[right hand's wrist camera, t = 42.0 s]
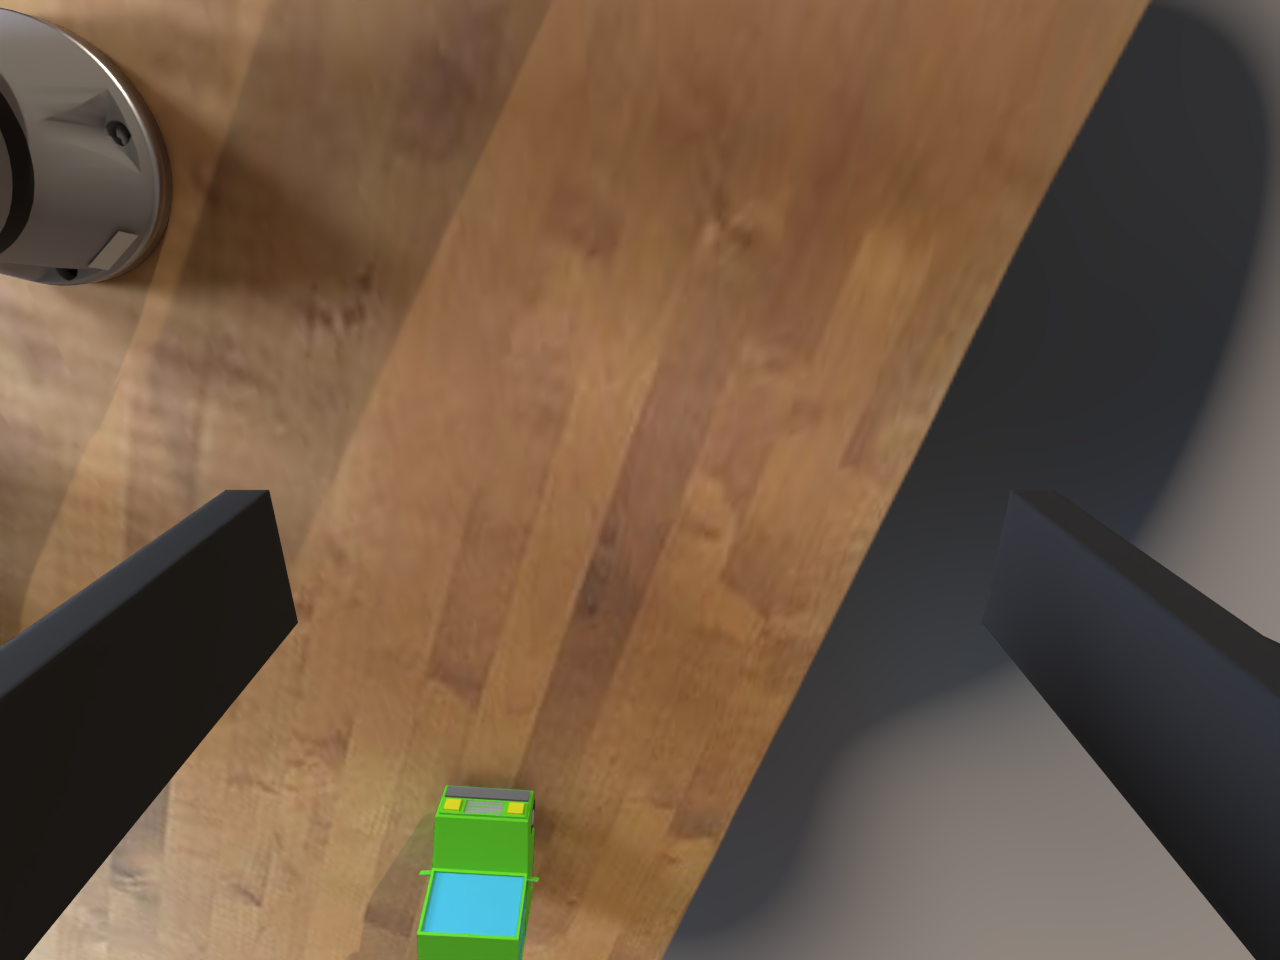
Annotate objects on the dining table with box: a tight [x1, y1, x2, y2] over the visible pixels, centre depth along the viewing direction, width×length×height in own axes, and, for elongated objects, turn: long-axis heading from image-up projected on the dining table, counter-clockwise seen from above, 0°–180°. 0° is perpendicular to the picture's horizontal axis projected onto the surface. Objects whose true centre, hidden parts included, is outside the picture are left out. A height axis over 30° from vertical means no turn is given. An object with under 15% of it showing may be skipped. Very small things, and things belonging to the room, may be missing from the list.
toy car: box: [417, 785, 540, 960], centre depth 60 cm, size 10×13×10 cm
